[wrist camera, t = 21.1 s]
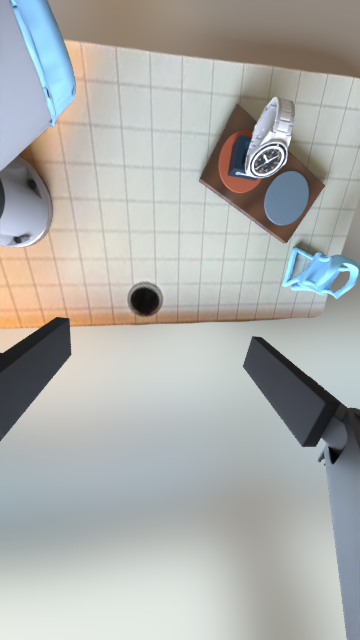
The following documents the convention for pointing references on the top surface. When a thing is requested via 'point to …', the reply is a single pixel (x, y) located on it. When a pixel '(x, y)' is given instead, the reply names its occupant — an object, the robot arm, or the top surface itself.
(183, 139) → the top surface
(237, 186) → the terracotta pad
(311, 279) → the chair
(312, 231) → the top surface
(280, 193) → the slate pad
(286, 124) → the watch
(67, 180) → the top surface
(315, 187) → the desk board
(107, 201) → the top surface
